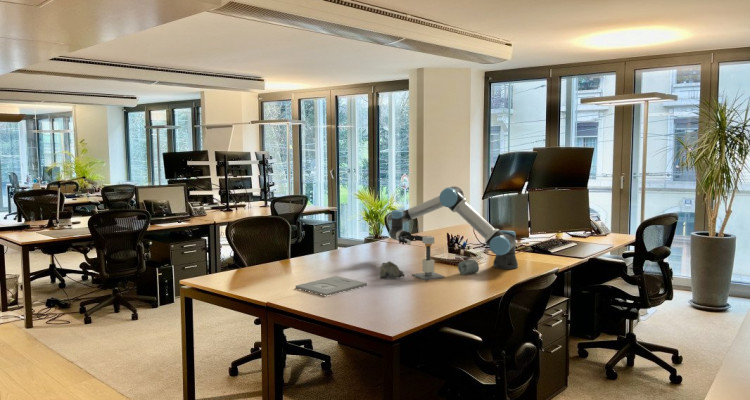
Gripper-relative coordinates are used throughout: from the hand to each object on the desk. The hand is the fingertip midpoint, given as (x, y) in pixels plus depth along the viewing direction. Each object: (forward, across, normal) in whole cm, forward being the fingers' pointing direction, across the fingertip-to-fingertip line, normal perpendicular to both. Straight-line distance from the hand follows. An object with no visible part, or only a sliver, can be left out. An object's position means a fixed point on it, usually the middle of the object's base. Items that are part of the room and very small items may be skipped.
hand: (420, 242), depth 343 cm
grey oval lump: (+17, -24, -18) cm, 34 cm away
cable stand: (+13, +2, -18) cm, 23 cm away
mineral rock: (+9, +23, -19) cm, 31 cm away
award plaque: (+12, +61, -19) cm, 65 cm away
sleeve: (+13, +2, -15) cm, 20 cm away
